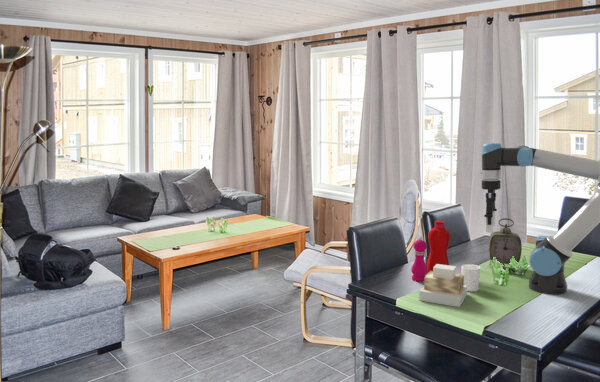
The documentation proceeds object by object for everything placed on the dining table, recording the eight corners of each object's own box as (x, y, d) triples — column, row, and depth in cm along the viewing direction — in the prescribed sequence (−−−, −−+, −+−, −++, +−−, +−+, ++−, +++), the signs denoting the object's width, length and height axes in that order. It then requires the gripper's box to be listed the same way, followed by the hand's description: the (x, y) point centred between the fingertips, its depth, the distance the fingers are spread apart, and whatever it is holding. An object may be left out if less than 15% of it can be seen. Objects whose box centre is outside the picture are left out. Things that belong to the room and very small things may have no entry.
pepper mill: (427, 282, 237) (428, 239, 234) (410, 281, 238) (412, 238, 235) (426, 277, 244) (428, 235, 241) (410, 276, 245) (412, 234, 242)
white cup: (464, 284, 234) (465, 263, 232) (482, 288, 229) (483, 266, 227) (457, 289, 227) (458, 267, 226) (475, 293, 223) (476, 270, 221)
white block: (455, 275, 217) (456, 266, 216) (452, 279, 212) (453, 270, 211) (436, 273, 221) (436, 263, 220) (432, 277, 215) (433, 267, 215)
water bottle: (446, 277, 245) (448, 224, 241) (424, 272, 251) (426, 221, 248) (454, 272, 252) (456, 221, 248) (432, 268, 258) (434, 218, 255)
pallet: (463, 287, 218) (464, 275, 217) (459, 294, 209) (459, 282, 209) (429, 282, 224) (430, 270, 224) (424, 289, 216) (424, 277, 215)
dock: (466, 294, 221) (467, 285, 220) (459, 306, 207) (460, 297, 206) (428, 288, 228) (428, 279, 228) (419, 300, 214) (419, 290, 213)
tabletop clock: (488, 269, 257) (491, 219, 253) (487, 264, 265) (490, 215, 262) (520, 272, 253) (523, 220, 249) (518, 266, 261) (521, 217, 258)
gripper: (484, 176, 235) (483, 223, 238) (479, 183, 213) (478, 234, 215) (502, 176, 232) (501, 224, 235) (499, 183, 210) (498, 235, 212)
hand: (490, 229), depth 225 cm, fingers open, 13 cm apart
